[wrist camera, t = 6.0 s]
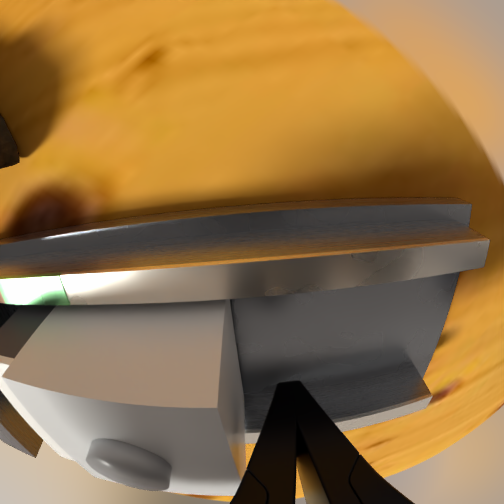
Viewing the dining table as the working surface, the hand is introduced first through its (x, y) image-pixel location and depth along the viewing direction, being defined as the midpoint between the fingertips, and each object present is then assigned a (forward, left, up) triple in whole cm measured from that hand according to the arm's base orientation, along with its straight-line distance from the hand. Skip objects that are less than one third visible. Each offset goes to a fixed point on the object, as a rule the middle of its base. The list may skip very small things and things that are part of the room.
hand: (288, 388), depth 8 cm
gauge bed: (+4, 0, -4) cm, 5 cm away
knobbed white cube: (+5, 0, -2) cm, 5 cm away
